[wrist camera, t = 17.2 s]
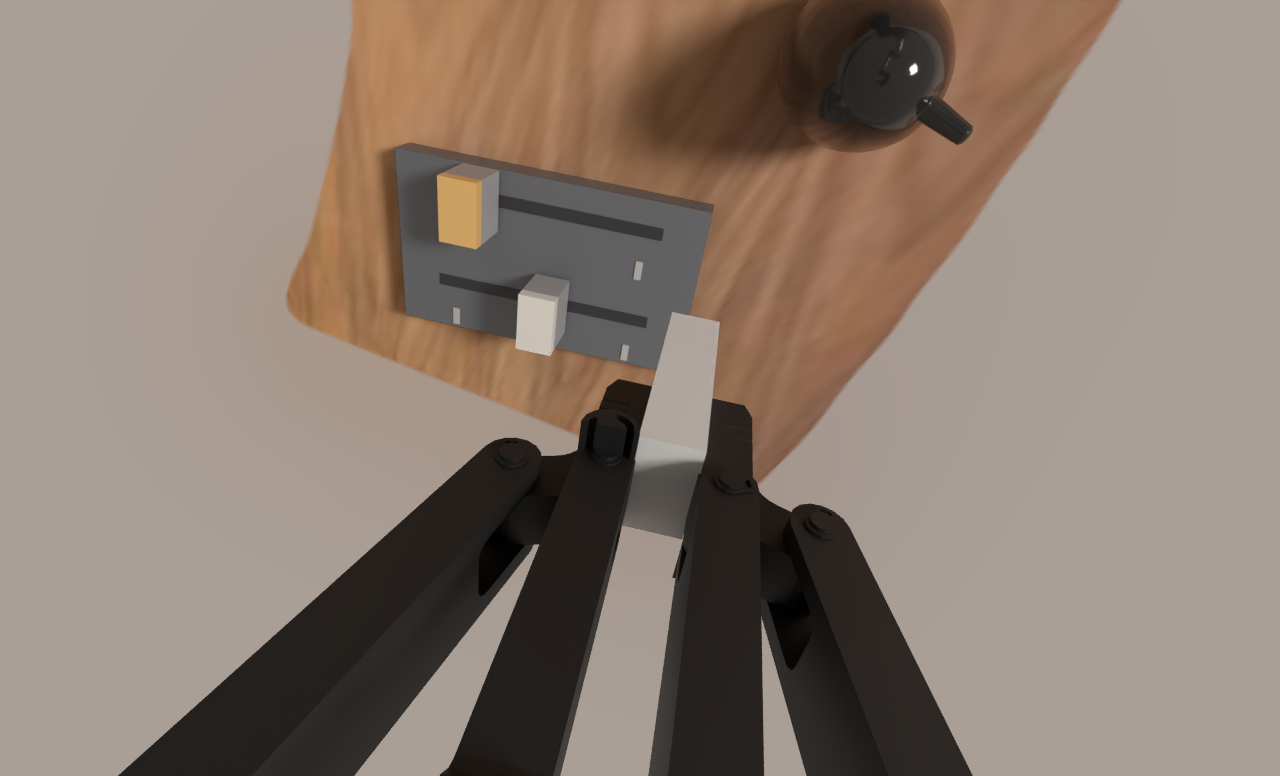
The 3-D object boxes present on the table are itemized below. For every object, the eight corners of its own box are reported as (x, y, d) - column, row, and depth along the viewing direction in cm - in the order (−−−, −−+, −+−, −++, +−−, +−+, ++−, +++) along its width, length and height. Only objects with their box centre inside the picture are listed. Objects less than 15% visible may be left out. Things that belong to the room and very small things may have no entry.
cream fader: (535, 273, 50) (518, 294, 46) (569, 280, 50) (554, 302, 46) (532, 325, 53) (515, 348, 49) (564, 332, 53) (550, 355, 49)
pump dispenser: (856, 169, 45) (899, 226, 32) (747, 87, 43) (746, 112, 30) (964, 38, 39) (1068, 43, 27) (844, -62, 38) (893, -108, 25)
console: (410, 142, 49) (394, 148, 47) (714, 204, 48) (712, 213, 46) (418, 304, 57) (405, 315, 55) (678, 361, 56) (675, 374, 54)
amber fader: (463, 163, 46) (436, 175, 42) (499, 170, 46) (476, 183, 42) (463, 224, 49) (439, 241, 45) (497, 231, 49) (476, 249, 45)
